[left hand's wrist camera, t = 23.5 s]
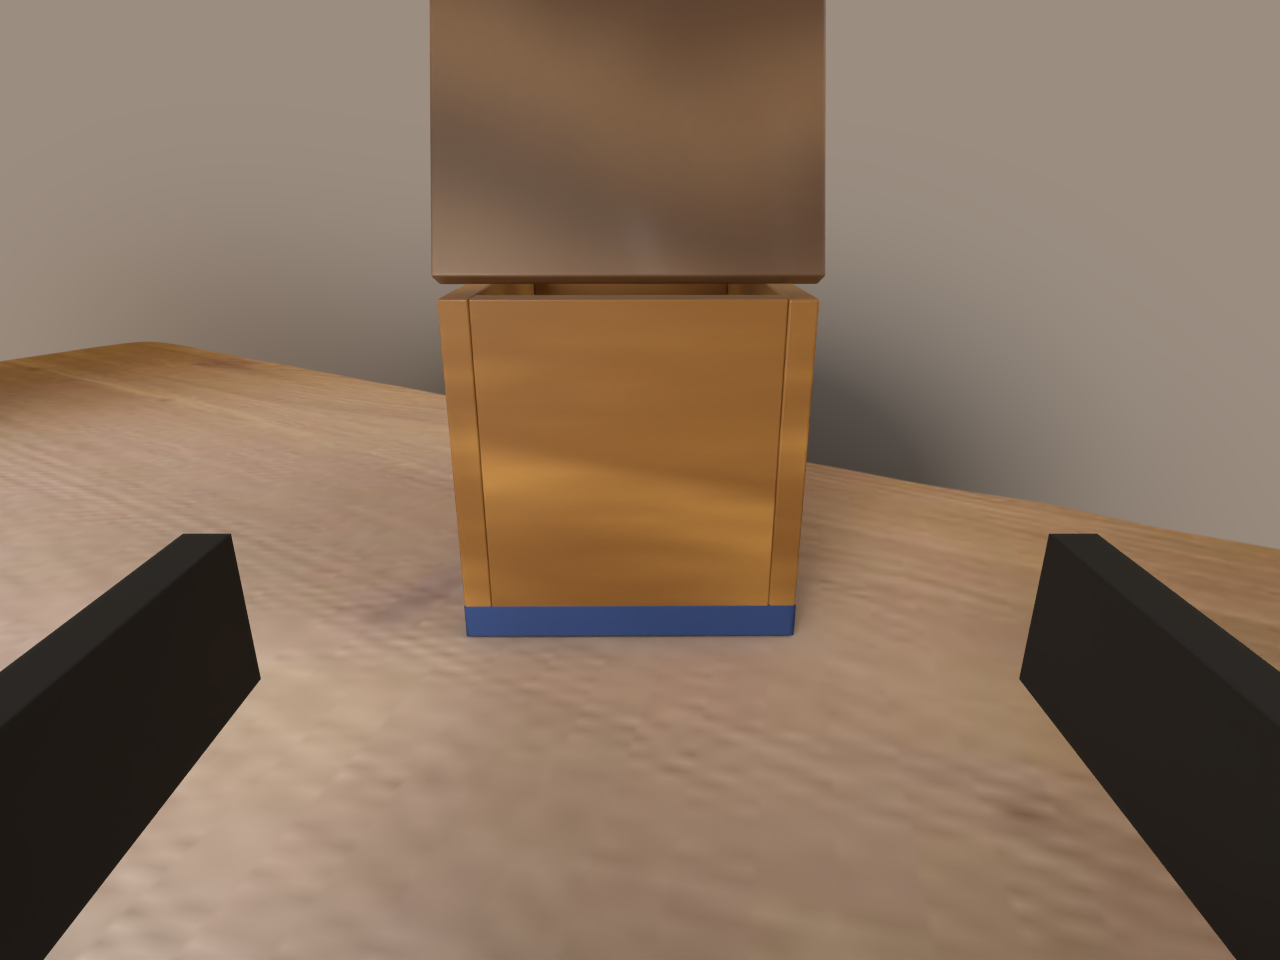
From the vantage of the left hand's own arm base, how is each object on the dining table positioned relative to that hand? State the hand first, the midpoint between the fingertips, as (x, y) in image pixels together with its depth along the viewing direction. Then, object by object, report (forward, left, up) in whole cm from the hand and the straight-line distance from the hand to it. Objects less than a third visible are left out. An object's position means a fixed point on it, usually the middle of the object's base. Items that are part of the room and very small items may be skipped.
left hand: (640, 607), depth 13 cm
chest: (+12, -13, -7) cm, 19 cm away
